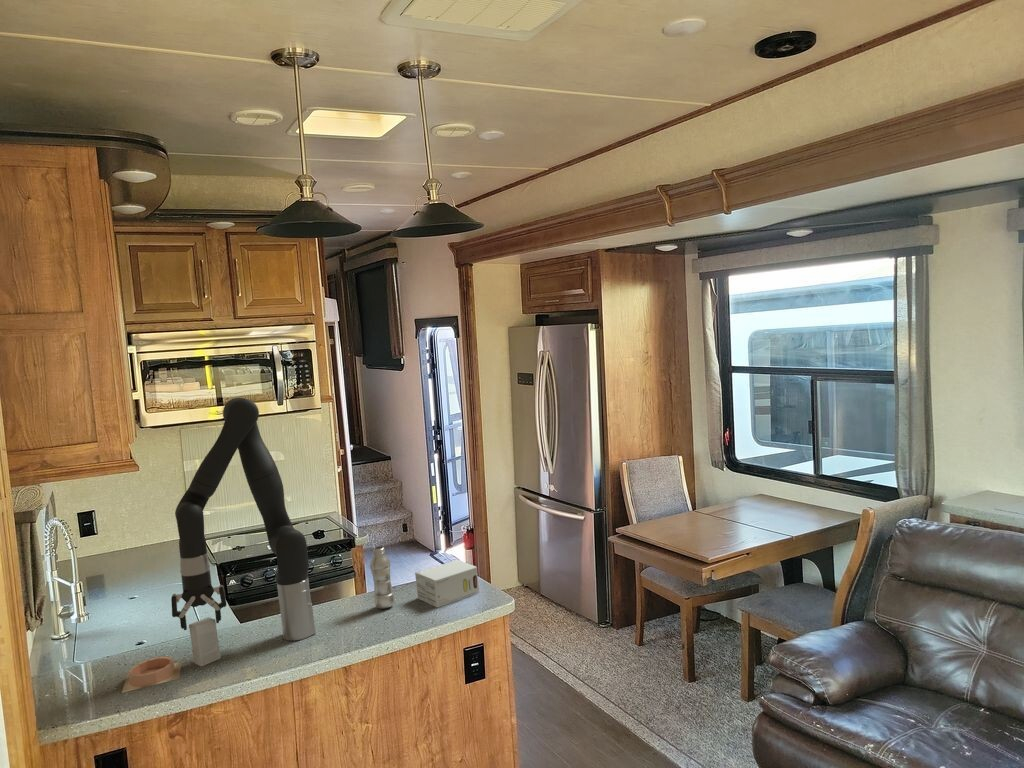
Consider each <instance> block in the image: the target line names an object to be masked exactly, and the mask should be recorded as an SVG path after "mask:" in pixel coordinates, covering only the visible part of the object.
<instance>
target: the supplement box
mask: <svg viewBox="0 0 1024 768" xmlns="http://www.w3.org/2000/svg"><path fill="white" fill-rule="evenodd" d="M414 574H415V575H414V576H415V583H416V584H415V585H416V595H417V599H418V600H421V601H423V602H425V603H426V604H429V605H430V606H432V607H435V608H437V609H439V608H440V607H443V606H446V605H448V604H451V603H454V602H457V601H460V600H463V599H466V598H469V597H471V596H474V595H477V594H479V593H480V588H479V586H480V585H479V577H478V567H477V566H476V565H473V564H471V563H467V562H464V561H461V560H458V559H455V560H452V561H448V562H446V563H442V564H440V565H436V566H433V567H429V568H426V569H422V570H419V571H415V573H414Z"/></svg>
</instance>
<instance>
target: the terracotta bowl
mask: <svg viewBox="0 0 1024 768" xmlns="http://www.w3.org/2000/svg"><path fill="white" fill-rule="evenodd" d="M174 663H175V661H174V658H173V657H170V656H158V657H154V658H150V659H147V660H144V661H142V662H139V663H136V664H135V665H133V667H131V668H129V672H128V674H129V681H130V684H131V685H133V686H135V687H137V686H148V685H152V684H156V683H159V682H161V681H163V680H165V679H168V678H169V677H170V676H171V675H173V674H174V671H175V666H174ZM156 685H157V684H156ZM152 686H153V685H152ZM148 687H149V686H148Z"/></svg>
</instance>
